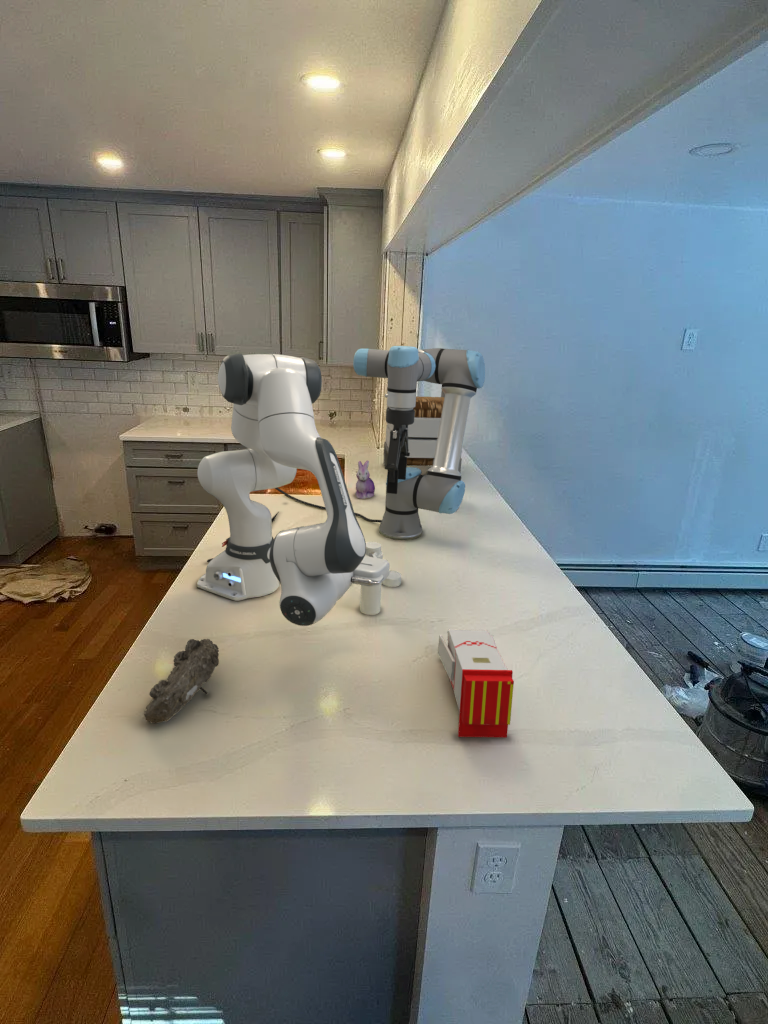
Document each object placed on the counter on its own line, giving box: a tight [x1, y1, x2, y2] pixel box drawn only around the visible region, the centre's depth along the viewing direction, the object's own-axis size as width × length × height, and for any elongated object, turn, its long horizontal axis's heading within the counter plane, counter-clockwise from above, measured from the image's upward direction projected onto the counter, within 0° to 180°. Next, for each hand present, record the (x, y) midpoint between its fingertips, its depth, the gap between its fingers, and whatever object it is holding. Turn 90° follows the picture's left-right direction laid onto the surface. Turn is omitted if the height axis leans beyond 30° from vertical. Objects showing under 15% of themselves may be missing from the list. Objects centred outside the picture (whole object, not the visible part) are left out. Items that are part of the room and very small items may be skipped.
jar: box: [359, 541, 384, 616], centre depth 146 cm, size 5×5×19 cm
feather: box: [272, 512, 279, 524], centre depth 212 cm, size 2×28×2 cm
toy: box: [437, 628, 515, 738], centre depth 117 cm, size 12×13×30 cm
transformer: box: [383, 390, 463, 475], centre depth 268 cm, size 34×33×41 cm
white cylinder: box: [382, 570, 402, 588], centre depth 164 cm, size 6×6×2 cm
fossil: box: [144, 638, 220, 724], centre depth 113 cm, size 22×10×15 cm
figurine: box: [354, 460, 376, 500], centre depth 236 cm, size 9×10×15 cm
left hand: (354, 551), depth 130 cm, fingers open, 8 cm apart
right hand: (396, 486), depth 155 cm, fingers open, 13 cm apart
